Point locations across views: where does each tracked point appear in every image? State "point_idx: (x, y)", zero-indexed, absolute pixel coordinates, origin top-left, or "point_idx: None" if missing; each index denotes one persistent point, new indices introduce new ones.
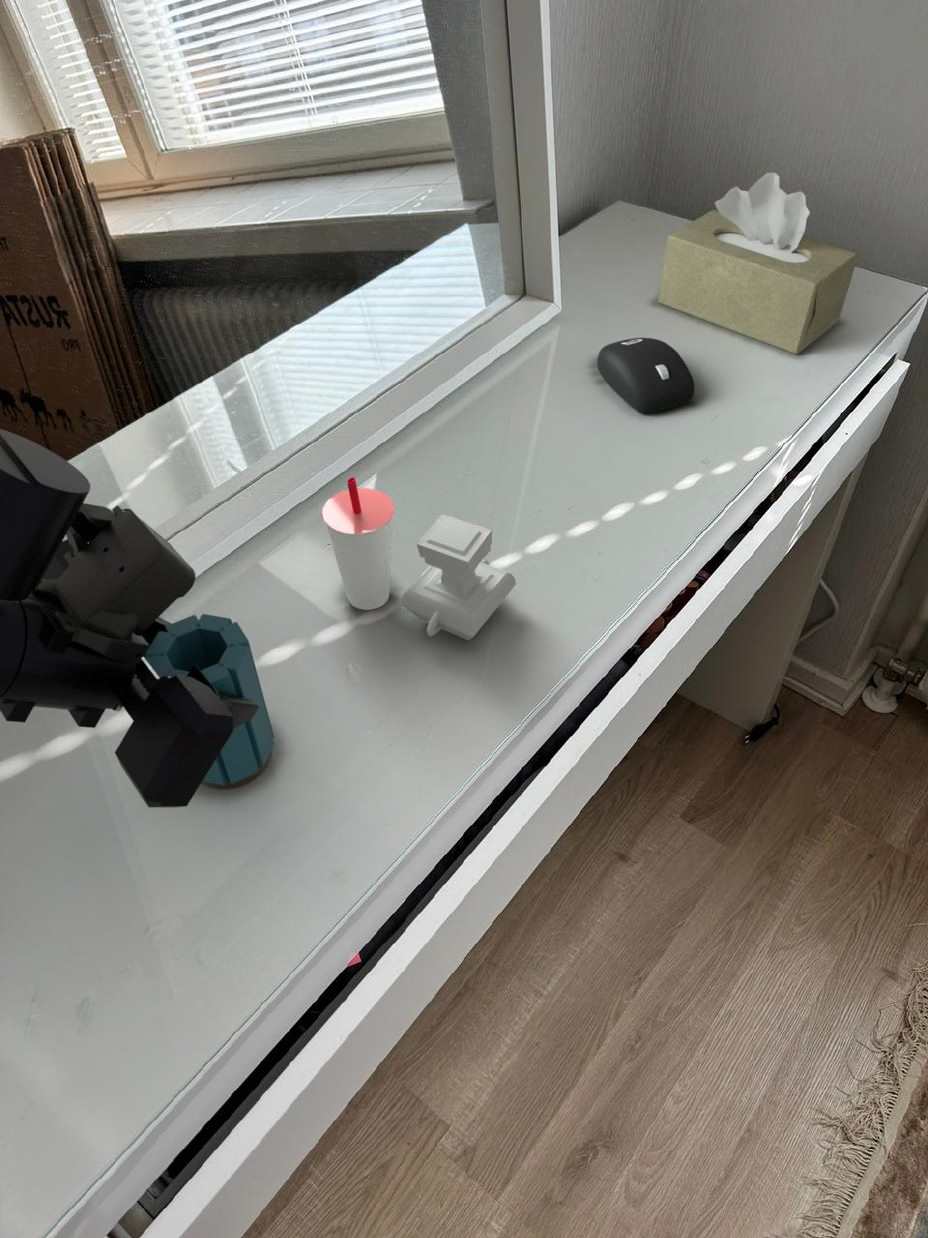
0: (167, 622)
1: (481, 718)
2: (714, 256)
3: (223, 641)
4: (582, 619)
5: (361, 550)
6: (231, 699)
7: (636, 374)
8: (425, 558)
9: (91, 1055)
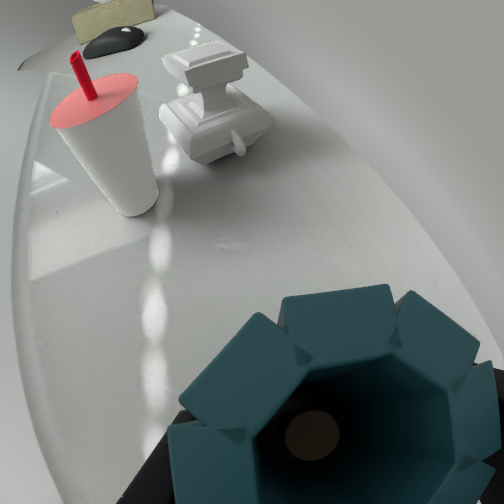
0: (133, 497)
1: (343, 170)
2: (98, 8)
3: (346, 366)
4: (269, 91)
5: (132, 125)
6: (498, 376)
7: (116, 35)
8: (193, 87)
9: None
